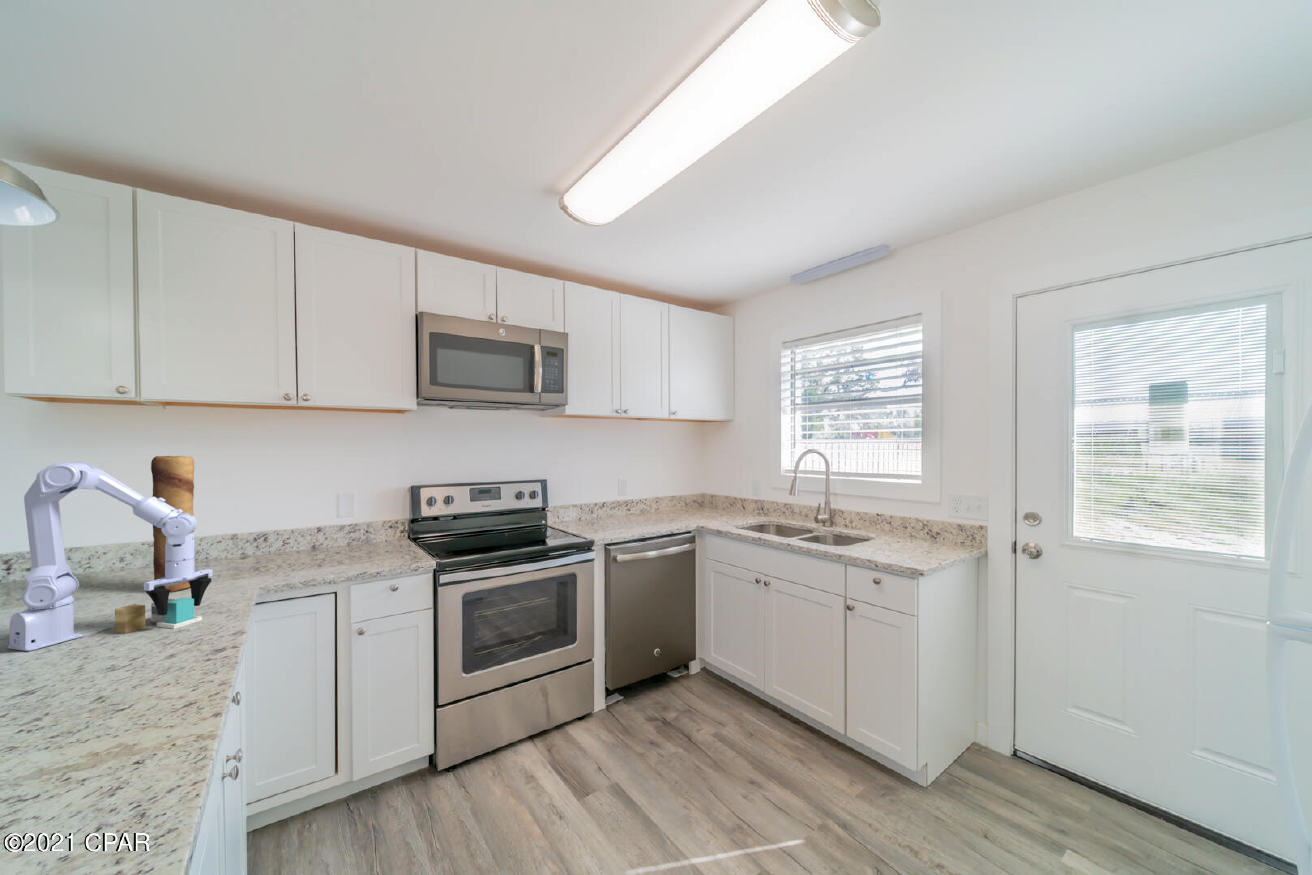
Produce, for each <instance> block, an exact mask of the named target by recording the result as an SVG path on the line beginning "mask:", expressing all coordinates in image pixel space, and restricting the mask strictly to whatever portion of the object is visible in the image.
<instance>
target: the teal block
mask: <svg viewBox="0 0 1312 875" xmlns="http://www.w3.org/2000/svg"><path fill="white" fill-rule="evenodd" d="M194 616H195V606H194V599H192V598H190V597H182V598H177V599H175V600H172V601H169V602H168V611H167V615H166V623H168V624H177V623H181V622H184V621H188V620H191V619H194Z"/></svg>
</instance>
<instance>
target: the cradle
mask: <svg viewBox="0 0 1312 875" xmlns="http://www.w3.org/2000/svg"><path fill="white" fill-rule="evenodd" d="M200 621H203V616H198V615H194V619H191V620H188V621H184V622H181V623H177V624H168V623H166V620H165V621H162V622H156V627H157V628H165V629H173V630H175V629H177V628H181V627H184V626H187V625H191V624H195V623H198V622H200Z"/></svg>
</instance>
